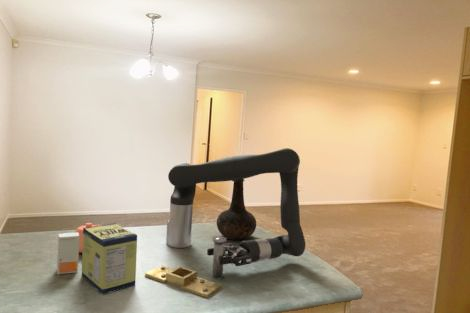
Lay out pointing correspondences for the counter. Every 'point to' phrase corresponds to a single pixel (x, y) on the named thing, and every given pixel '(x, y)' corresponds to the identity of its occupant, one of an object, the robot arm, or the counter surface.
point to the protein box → (109, 257)
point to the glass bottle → (236, 216)
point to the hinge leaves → (184, 280)
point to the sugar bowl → (82, 235)
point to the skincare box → (68, 253)
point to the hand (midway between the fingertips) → (213, 256)
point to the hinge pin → (218, 256)
